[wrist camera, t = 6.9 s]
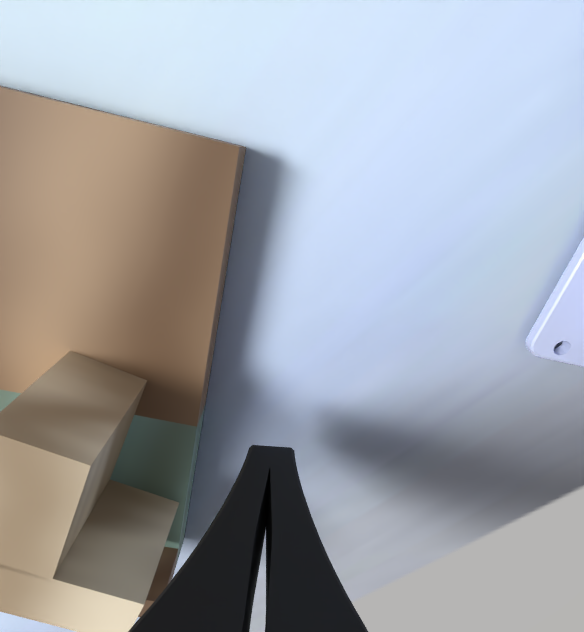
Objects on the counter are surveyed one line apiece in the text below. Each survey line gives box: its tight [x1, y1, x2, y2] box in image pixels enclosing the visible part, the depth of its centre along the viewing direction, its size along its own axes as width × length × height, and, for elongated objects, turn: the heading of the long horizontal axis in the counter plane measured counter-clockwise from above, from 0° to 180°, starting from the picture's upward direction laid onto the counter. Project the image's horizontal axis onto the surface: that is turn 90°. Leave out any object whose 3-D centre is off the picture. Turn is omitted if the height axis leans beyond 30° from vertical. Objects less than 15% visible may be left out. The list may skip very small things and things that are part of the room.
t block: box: [0, 351, 179, 632], centre depth 11 cm, size 8×8×4 cm
